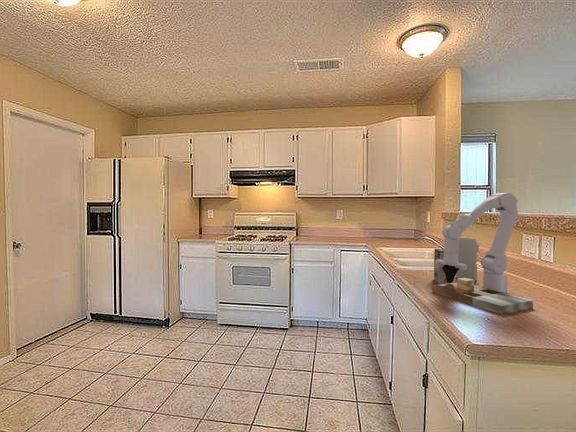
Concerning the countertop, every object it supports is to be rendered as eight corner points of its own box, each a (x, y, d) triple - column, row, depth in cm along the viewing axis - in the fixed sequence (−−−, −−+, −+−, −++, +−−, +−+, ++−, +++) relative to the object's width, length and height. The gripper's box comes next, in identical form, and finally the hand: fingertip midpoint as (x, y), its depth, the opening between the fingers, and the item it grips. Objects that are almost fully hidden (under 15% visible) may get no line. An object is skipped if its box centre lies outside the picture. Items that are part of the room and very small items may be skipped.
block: (464, 286, 135) (464, 277, 135) (473, 289, 131) (474, 279, 131) (456, 287, 133) (457, 278, 133) (466, 290, 129) (466, 280, 129)
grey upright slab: (478, 279, 160) (479, 237, 160) (477, 281, 157) (478, 238, 156) (455, 276, 167) (456, 236, 166) (453, 278, 164) (455, 236, 163)
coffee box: (433, 279, 161) (434, 248, 160) (446, 280, 160) (447, 249, 159) (438, 283, 152) (438, 251, 151) (452, 284, 151) (453, 251, 150)
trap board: (461, 288, 144) (461, 281, 144) (533, 308, 116) (533, 300, 116) (432, 292, 137) (432, 285, 137) (501, 314, 109) (501, 306, 109)
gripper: (431, 250, 143) (430, 279, 144) (459, 255, 130) (458, 287, 131) (442, 249, 146) (441, 278, 147) (470, 254, 133) (469, 285, 133)
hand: (450, 282), depth 139 cm, fingers closed
